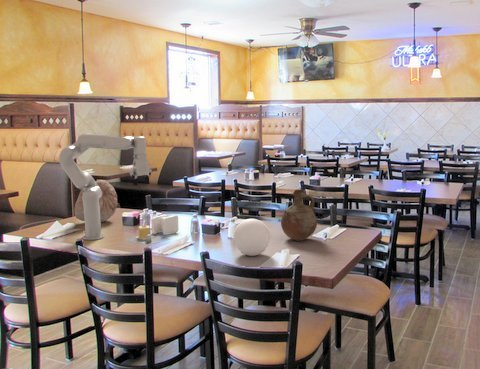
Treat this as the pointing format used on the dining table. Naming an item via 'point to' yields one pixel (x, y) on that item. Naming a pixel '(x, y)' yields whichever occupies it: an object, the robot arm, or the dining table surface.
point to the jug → (299, 217)
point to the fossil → (100, 202)
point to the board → (156, 239)
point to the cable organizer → (165, 224)
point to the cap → (144, 231)
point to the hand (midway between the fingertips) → (141, 184)
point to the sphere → (251, 237)
